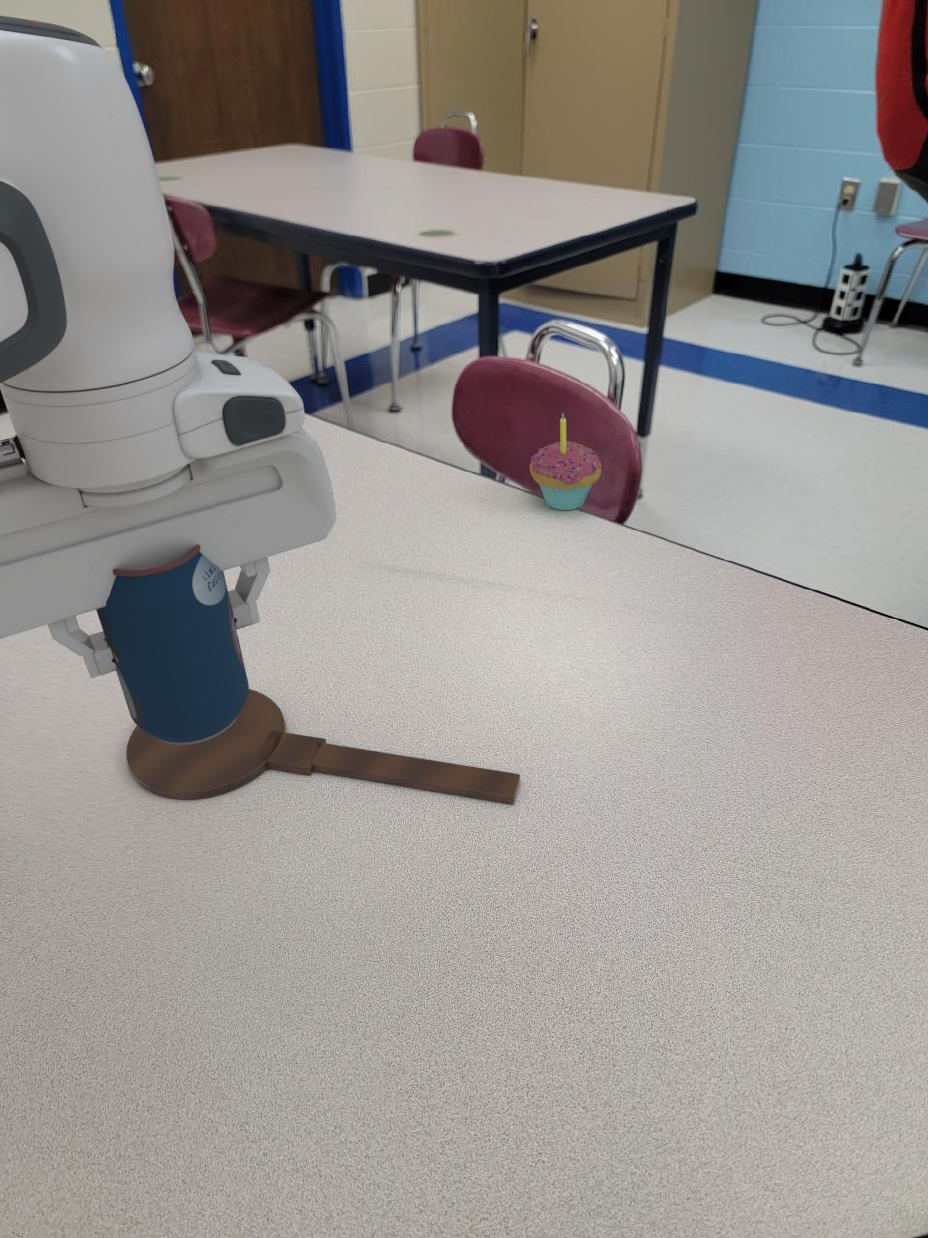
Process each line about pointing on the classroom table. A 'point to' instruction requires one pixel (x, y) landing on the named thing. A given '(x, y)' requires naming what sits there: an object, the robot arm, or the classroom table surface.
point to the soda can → (176, 649)
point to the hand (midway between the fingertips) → (176, 644)
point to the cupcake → (565, 471)
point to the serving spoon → (292, 761)
